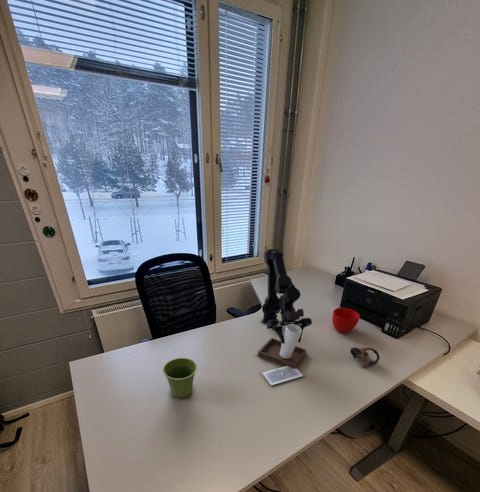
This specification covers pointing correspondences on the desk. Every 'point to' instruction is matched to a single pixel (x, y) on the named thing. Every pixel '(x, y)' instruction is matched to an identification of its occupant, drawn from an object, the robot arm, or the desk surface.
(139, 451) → the desk surface
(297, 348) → the tray
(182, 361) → the plant pot
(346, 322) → the ceramic cup
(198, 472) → the desk surface
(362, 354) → the pottery mug
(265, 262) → the robot arm
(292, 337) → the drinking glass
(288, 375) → the touchpad
